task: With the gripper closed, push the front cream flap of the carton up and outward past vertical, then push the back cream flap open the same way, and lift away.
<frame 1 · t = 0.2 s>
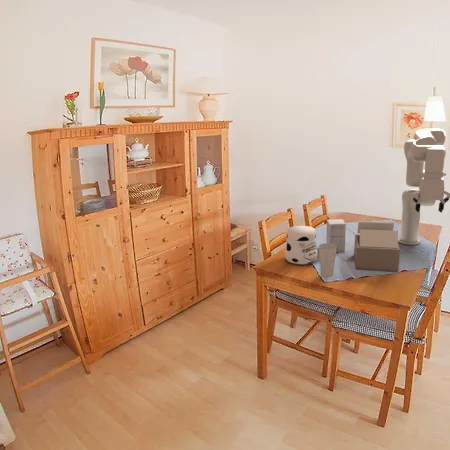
hand: (429, 211, 182), 31 cm above the table, tool pointing down, fingers open, 9 cm apart
front flap: (378, 238, 192), point 17 cm above the table, hinge at 65.0°
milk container: (301, 261, 212), on the table
small drawer cabinet: (335, 249, 226), on the table
back flap: (375, 228, 207), point 17 cm above the table, hinge at 65.0°
cup: (326, 275, 193), on the table
carton: (374, 263, 204), on the table
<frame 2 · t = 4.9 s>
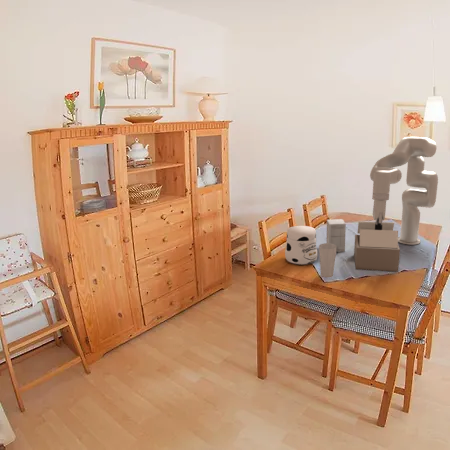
hand: (378, 231, 194), 19 cm above the table, tool pointing down, fingers closed
front flap: (378, 238, 192), point 17 cm above the table, hinge at 69.0°, touching gripper
everything else where it was.
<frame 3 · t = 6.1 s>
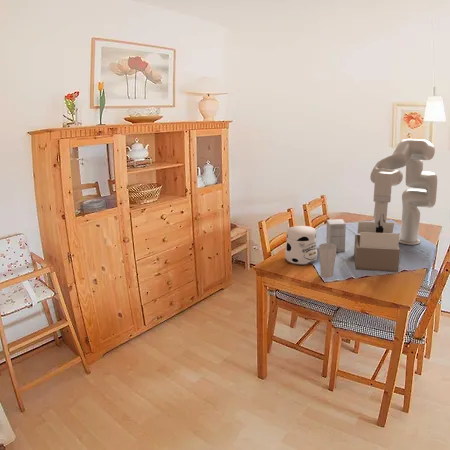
hand: (379, 234, 189), 19 cm above the table, tool pointing down, fingers closed
front flap: (379, 240, 189), point 17 cm above the table, hinge at 103.5°, touching gripper
everything else where it was.
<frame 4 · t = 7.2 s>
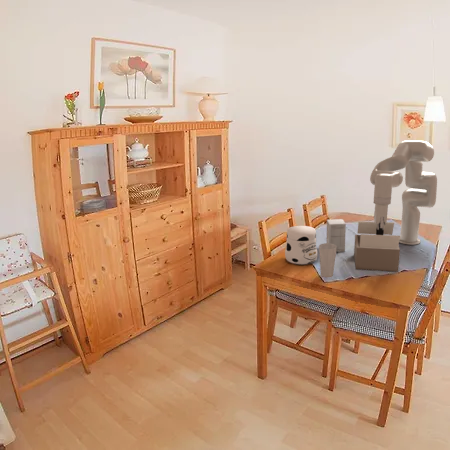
hand: (379, 236, 188), 19 cm above the table, tool pointing down, fingers closed
front flap: (379, 241, 188), point 16 cm above the table, hinge at 114.7°, touching gripper
everything else where it was.
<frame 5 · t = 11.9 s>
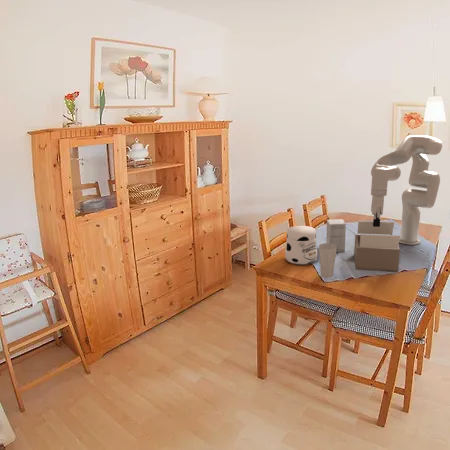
hand: (376, 226, 203), 19 cm above the table, tool pointing down, fingers closed
front flap: (379, 241, 188), point 16 cm above the table, hinge at 114.9°
back flap: (375, 227, 207), point 17 cm above the table, hinge at 68.0°, touching gripper
everything else where it was.
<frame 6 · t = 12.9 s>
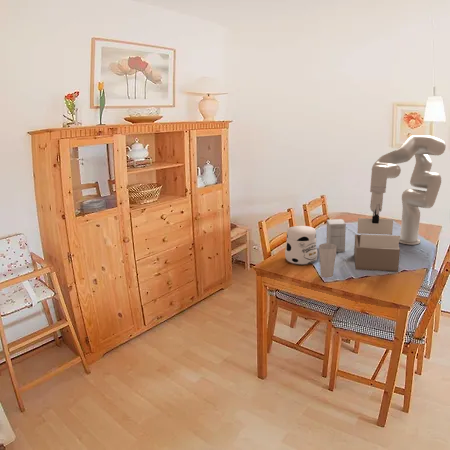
hand: (375, 222, 207), 19 cm above the table, tool pointing down, fingers closed
back flap: (375, 226, 209), point 17 cm above the table, hinge at 94.4°, touching gripper
everything else where it was.
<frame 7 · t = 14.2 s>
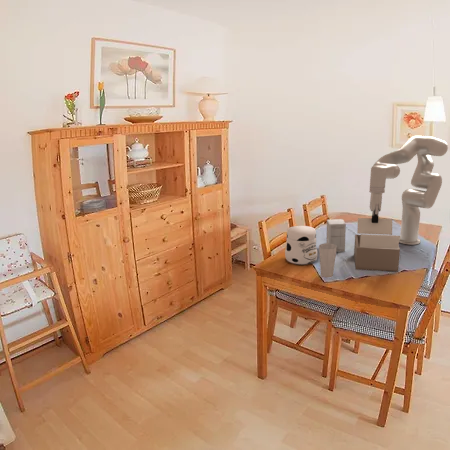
hand: (374, 222, 210), 19 cm above the table, tool pointing down, fingers closed
back flap: (374, 226, 210), point 17 cm above the table, hinge at 113.1°, touching gripper
everything else where it was.
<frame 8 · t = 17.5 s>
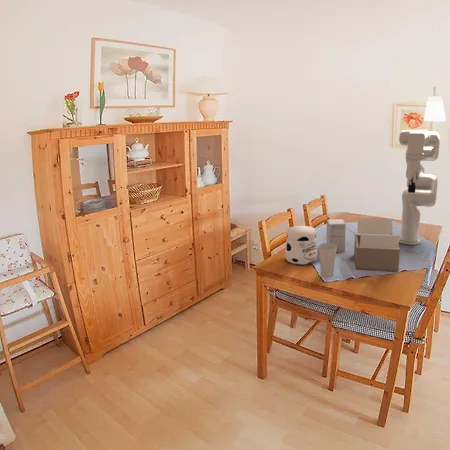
hand: (411, 192, 202), 35 cm above the table, tool pointing down, fingers closed
back flap: (374, 226, 210), point 16 cm above the table, hinge at 114.2°
everything else where it was.
at the end: front flap at +115° (first picture: +65°); back flap at +114° (first picture: +65°) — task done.
